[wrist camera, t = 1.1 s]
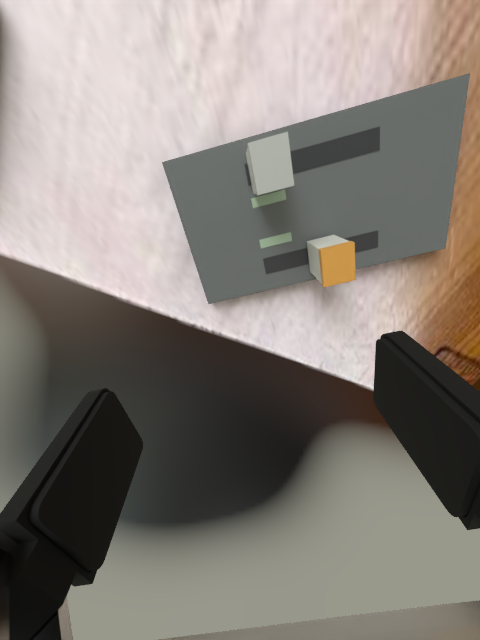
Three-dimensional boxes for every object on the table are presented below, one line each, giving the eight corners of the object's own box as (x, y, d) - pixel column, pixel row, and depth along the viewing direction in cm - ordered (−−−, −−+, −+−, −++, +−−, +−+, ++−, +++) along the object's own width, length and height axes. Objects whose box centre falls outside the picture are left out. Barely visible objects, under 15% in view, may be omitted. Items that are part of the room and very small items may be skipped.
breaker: (276, 143, 20) (287, 131, 16) (283, 186, 21) (294, 185, 17) (244, 152, 20) (247, 142, 16) (252, 194, 21) (257, 195, 17)
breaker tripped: (334, 233, 23) (354, 242, 19) (336, 266, 24) (355, 279, 20) (306, 240, 23) (320, 250, 19) (309, 272, 24) (324, 287, 21)
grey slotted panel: (453, 81, 20) (470, 73, 18) (434, 245, 25) (445, 248, 24) (166, 164, 22) (161, 162, 20) (209, 298, 27) (208, 304, 26)
